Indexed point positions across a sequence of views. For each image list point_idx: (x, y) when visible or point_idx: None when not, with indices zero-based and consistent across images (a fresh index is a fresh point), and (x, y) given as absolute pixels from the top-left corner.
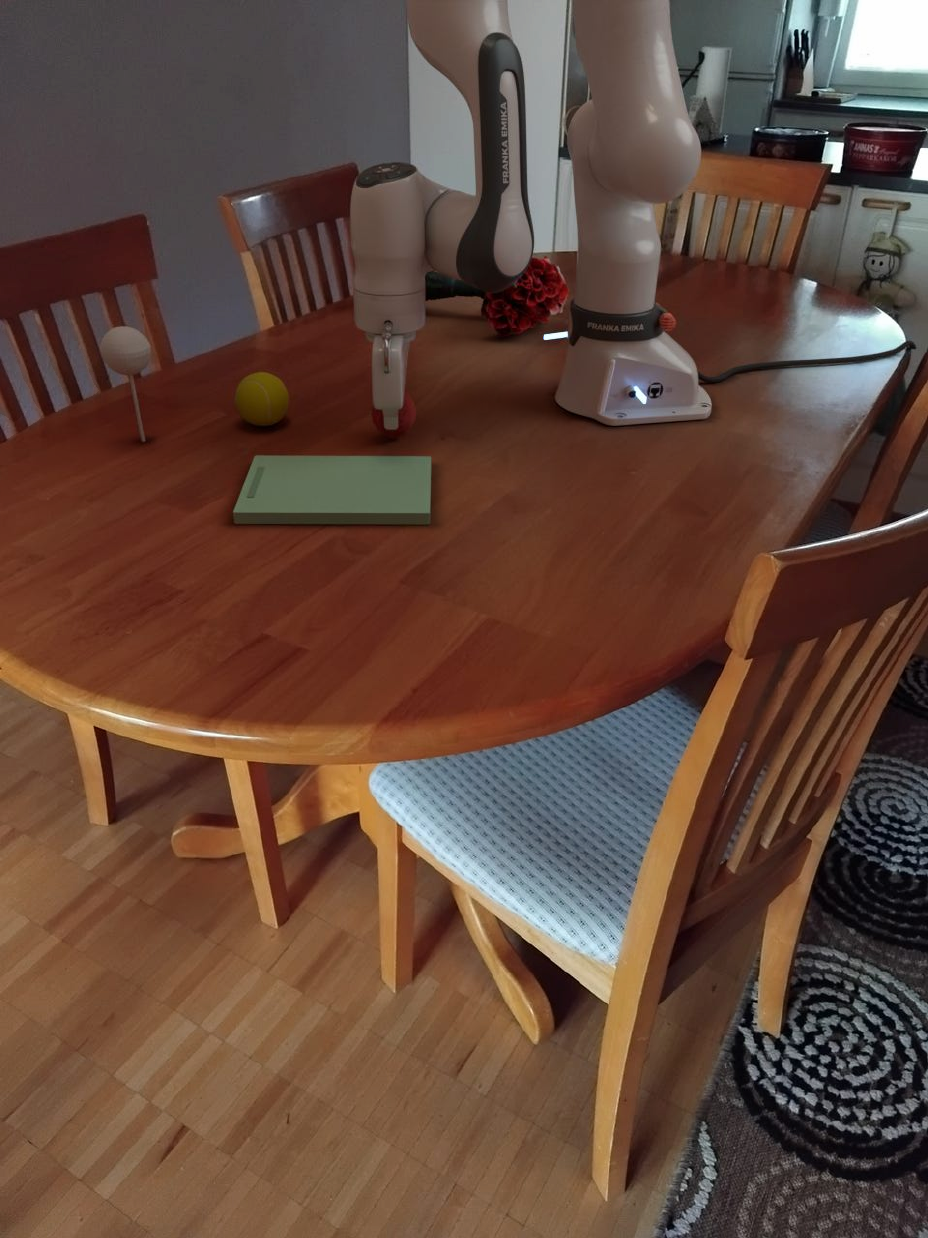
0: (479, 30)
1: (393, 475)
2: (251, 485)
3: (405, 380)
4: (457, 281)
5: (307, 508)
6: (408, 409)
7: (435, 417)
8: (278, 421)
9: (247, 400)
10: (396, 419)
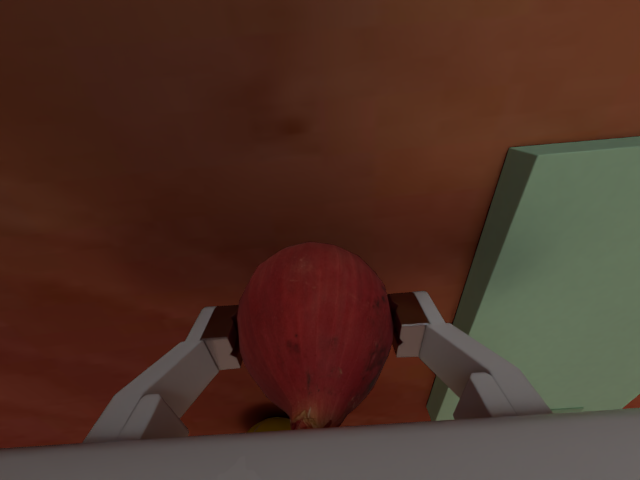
0: None
1: (622, 247)
2: None
3: (393, 466)
4: None
5: None
6: (368, 298)
7: (121, 170)
8: (285, 420)
9: None
10: (439, 316)
